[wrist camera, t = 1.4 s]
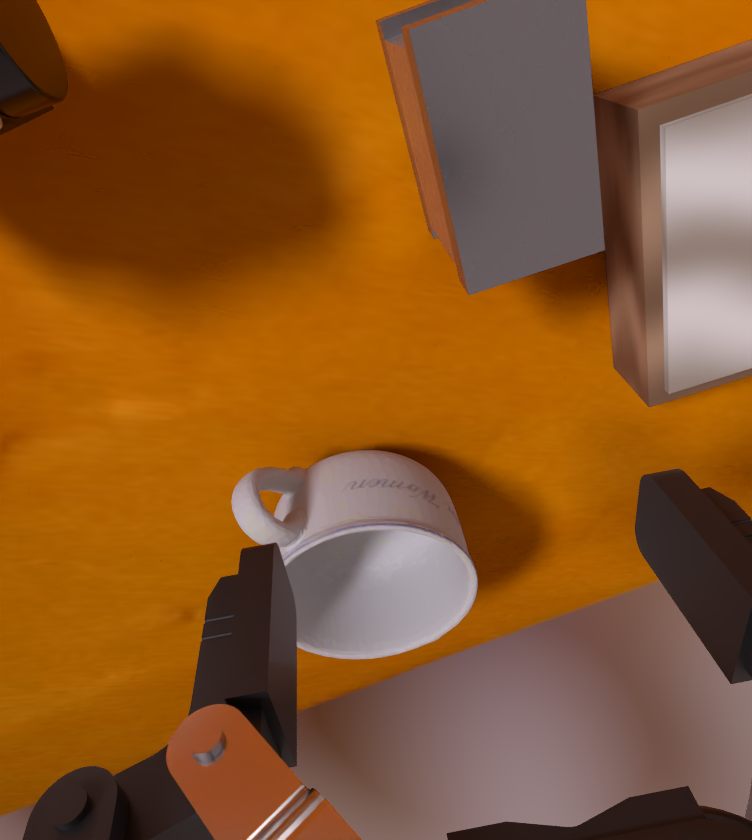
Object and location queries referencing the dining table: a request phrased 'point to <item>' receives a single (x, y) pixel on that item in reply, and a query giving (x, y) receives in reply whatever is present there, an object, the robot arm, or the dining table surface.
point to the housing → (499, 131)
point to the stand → (679, 224)
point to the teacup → (364, 551)
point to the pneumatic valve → (28, 64)
